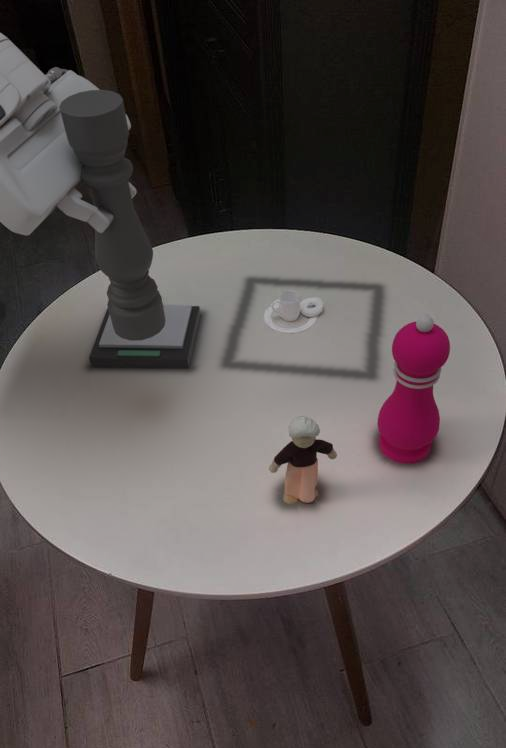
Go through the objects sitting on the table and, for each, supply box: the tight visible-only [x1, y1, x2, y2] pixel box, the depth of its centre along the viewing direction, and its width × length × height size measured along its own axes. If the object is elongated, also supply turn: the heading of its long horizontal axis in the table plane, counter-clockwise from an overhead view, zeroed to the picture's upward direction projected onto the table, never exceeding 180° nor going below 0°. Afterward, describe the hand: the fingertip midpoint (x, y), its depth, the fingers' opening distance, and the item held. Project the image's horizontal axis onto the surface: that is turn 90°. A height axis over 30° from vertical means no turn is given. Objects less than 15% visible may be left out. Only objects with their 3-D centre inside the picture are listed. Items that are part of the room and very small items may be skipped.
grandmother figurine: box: [268, 415, 338, 505], centre depth 76 cm, size 8×4×13 cm, turn 114°
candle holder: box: [59, 89, 166, 341], centre depth 71 cm, size 6×6×25 cm
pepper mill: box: [376, 314, 451, 464], centre depth 77 cm, size 7×7×20 cm
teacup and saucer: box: [263, 289, 325, 334], centre depth 101 cm, size 9×8×4 cm
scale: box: [88, 304, 202, 370], centre depth 99 cm, size 14×12×3 cm
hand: (119, 212), depth 69 cm, fingers closed on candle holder, 4 cm apart
